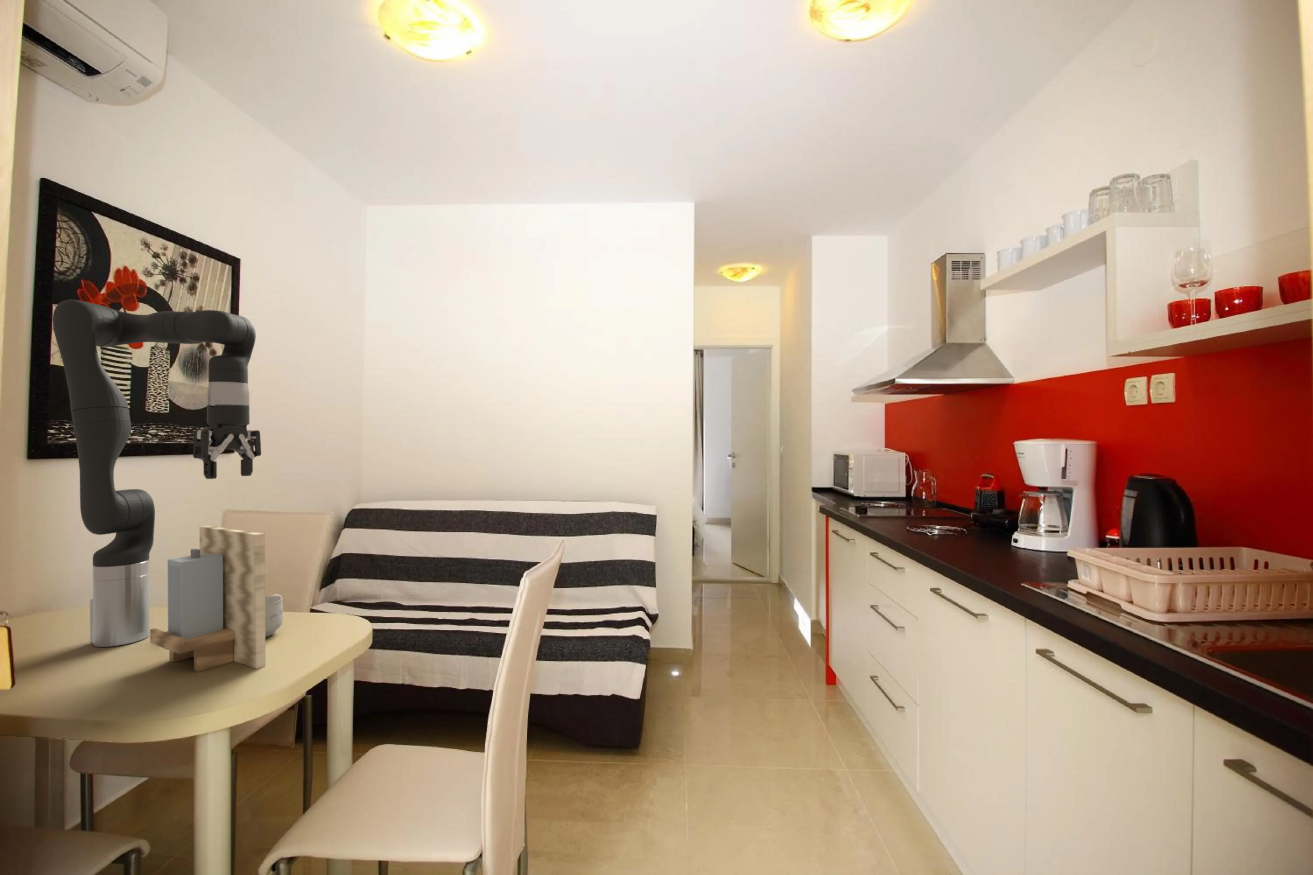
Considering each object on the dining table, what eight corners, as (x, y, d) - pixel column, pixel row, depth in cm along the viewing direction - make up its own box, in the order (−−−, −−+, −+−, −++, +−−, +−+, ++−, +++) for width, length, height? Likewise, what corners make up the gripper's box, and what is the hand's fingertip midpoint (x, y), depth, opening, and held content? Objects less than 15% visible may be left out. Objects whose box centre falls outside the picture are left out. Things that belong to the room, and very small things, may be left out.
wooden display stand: (145, 663, 115) (145, 533, 115) (208, 646, 125) (208, 525, 125) (201, 686, 105) (200, 542, 105) (265, 665, 114) (264, 533, 114)
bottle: (167, 635, 114) (167, 551, 114) (209, 625, 120) (208, 545, 120) (181, 640, 111) (180, 553, 111) (223, 629, 118) (222, 547, 117)
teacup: (254, 646, 125) (253, 609, 125) (212, 643, 127) (212, 606, 127) (305, 625, 138) (305, 592, 138) (267, 623, 140) (266, 589, 140)
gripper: (242, 405, 136) (243, 475, 136) (182, 402, 122) (183, 479, 122) (270, 405, 134) (270, 475, 134) (212, 401, 120) (213, 480, 120)
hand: (229, 477), depth 128 cm, fingers open, 8 cm apart
